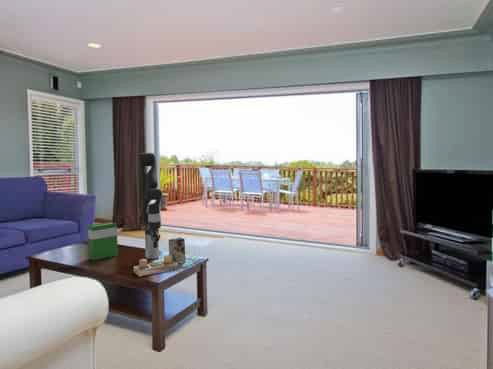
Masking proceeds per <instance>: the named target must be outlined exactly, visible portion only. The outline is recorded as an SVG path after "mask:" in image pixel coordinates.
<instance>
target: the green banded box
mask: <svg viewBox="0 0 493 369" xmlns="http://www.w3.org/2000/svg"><path fill="white" fill-rule="evenodd" d="M117 225H118V224H117V222H113V221H108V222H102V223H96V224H89V225H87V234H88V253H89V254H88V255H89V259H90V258H91V259H93V260H92V261H94V260H96V259H100V260H103V259H102V258H105V259H107V257H109V258H113V257H112V256H114V257H116V256H117V257H118V255H119V253H118V252H119V248H118V244H119V243H118V226H117ZM91 259H90V260H91ZM96 261H97V260H96Z"/></svg>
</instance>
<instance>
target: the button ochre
mask: <svg viewBox="0 0 493 369" xmlns="http://www.w3.org/2000/svg"><path fill="white" fill-rule="evenodd" d="M163 261H164V264H171V263H172V262H171V255H169V254H165V255H163Z"/></svg>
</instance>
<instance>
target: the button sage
mask: <svg viewBox="0 0 493 369" xmlns="http://www.w3.org/2000/svg"><path fill="white" fill-rule="evenodd" d="M160 262H161V261H160V260H153V261H151V263H152V267H155V266H160Z"/></svg>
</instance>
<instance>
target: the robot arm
mask: <svg viewBox="0 0 493 369" xmlns="http://www.w3.org/2000/svg"><path fill="white" fill-rule="evenodd" d="M156 157H157V156H156V155H155V153H154V152H140V153H139V154H138V166H139V175H140V176H139V177H140V195H141V220H142V224H143V225H148V228H146V229H145V230H144V242H145V243H144V244H145V245H144V247H145V259H147V260H150V259H151V260H152V259H153V260H154V259H158V258H159V257H160V243H159V242H160V238H161V234H160V230H159V229H160V228H162V227H161V226H162V223H161V222H162V221H161V208H160V207H161V201H162V196H163V191H162V189H161V188H158V185H159V184H158V179H157V178H158V177H157V159H156ZM145 167H146V168H147V167H150V169H149V170H148V172H147V171H146V169H145ZM151 201H155V202H153V203H151Z"/></svg>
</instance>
